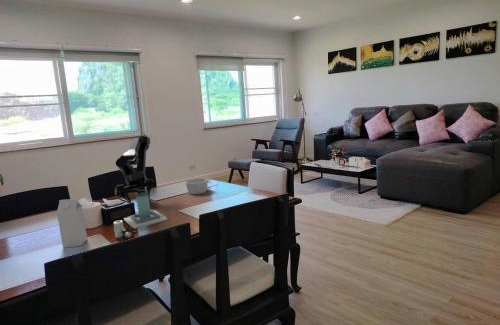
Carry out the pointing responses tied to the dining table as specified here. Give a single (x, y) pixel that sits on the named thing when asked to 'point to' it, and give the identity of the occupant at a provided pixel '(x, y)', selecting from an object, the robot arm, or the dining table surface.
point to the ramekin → (197, 186)
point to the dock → (137, 223)
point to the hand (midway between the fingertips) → (140, 201)
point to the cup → (143, 205)
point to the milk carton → (71, 223)
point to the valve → (123, 230)
